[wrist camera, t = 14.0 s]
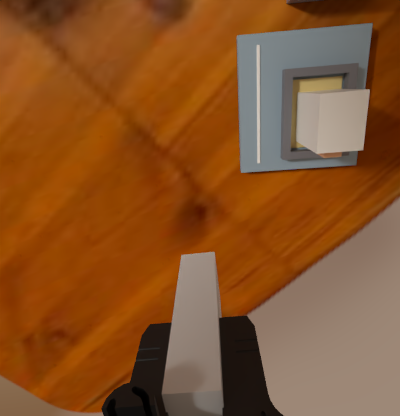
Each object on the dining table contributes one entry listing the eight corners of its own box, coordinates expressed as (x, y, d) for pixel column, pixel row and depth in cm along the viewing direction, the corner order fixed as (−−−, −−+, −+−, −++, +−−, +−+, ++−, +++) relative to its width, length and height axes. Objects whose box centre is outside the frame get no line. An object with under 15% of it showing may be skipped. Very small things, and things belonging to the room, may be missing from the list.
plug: (297, 92, 31) (320, 93, 25) (336, 89, 31) (370, 89, 25) (295, 148, 33) (316, 162, 27) (332, 145, 33) (362, 159, 27)
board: (236, 37, 31) (238, 33, 29) (366, 25, 30) (379, 20, 28) (240, 170, 36) (242, 175, 34) (351, 162, 35) (361, 167, 33)
